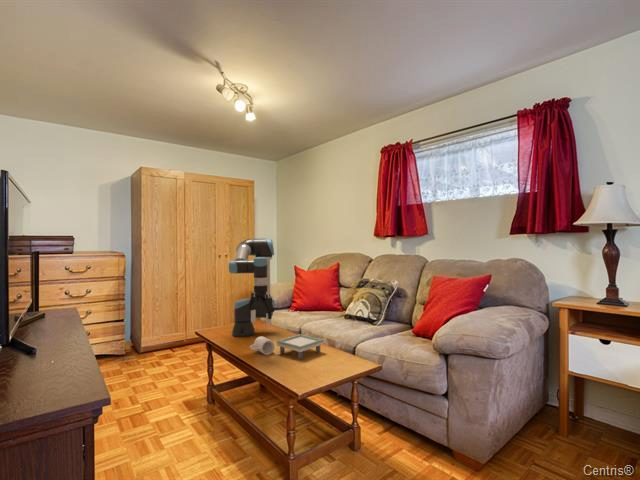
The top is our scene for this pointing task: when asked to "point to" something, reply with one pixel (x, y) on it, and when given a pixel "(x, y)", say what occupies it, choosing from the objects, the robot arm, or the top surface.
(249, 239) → the robot arm
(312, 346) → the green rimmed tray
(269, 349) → the mug
